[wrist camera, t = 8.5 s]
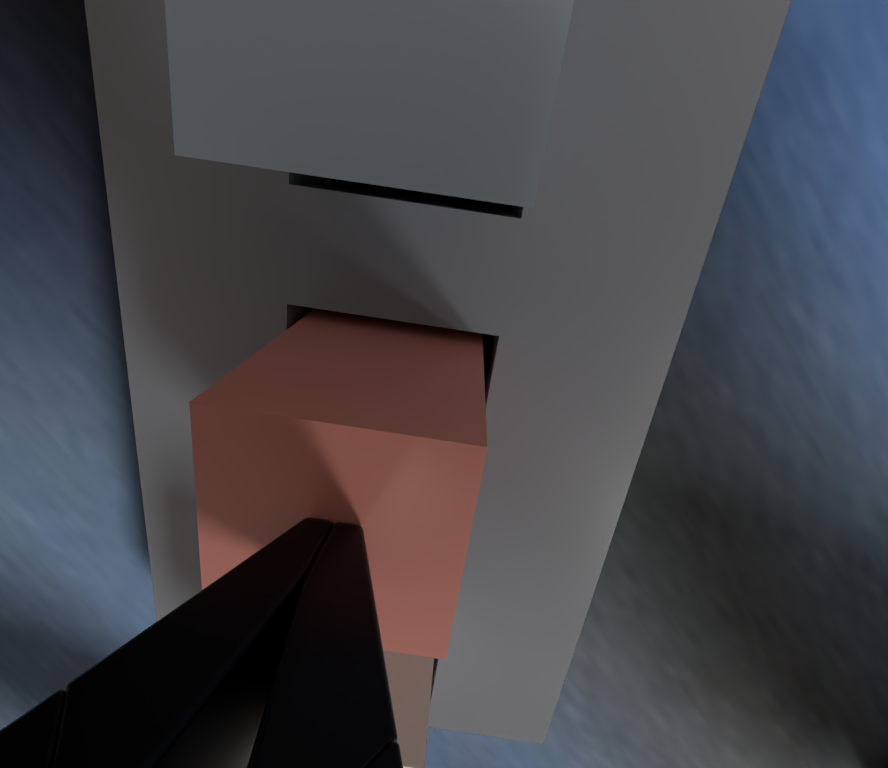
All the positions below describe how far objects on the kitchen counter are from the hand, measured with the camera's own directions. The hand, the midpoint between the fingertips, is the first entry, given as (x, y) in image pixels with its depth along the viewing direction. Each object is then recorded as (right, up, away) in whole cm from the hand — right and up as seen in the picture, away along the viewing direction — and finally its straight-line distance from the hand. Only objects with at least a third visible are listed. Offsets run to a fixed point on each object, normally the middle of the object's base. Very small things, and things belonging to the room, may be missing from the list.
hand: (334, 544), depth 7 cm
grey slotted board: (0, +3, +7) cm, 7 cm away
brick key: (0, +2, +5) cm, 6 cm away
